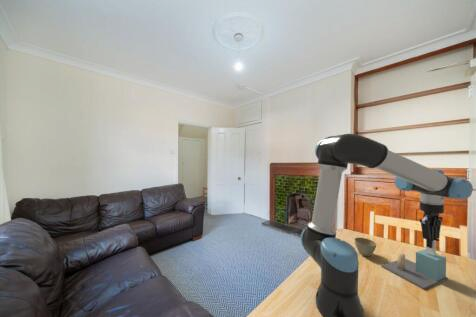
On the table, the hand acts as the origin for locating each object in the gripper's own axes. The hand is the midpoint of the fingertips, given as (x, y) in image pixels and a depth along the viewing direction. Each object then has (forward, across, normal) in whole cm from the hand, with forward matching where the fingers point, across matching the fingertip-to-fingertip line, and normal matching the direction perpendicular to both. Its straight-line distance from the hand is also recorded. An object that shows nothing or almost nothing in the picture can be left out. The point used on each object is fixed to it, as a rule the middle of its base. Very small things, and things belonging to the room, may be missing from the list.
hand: (430, 253), depth 82 cm
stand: (+10, -5, +4) cm, 12 cm away
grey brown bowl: (+10, -10, +23) cm, 27 cm away
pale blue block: (+9, 0, 0) cm, 9 cm away
